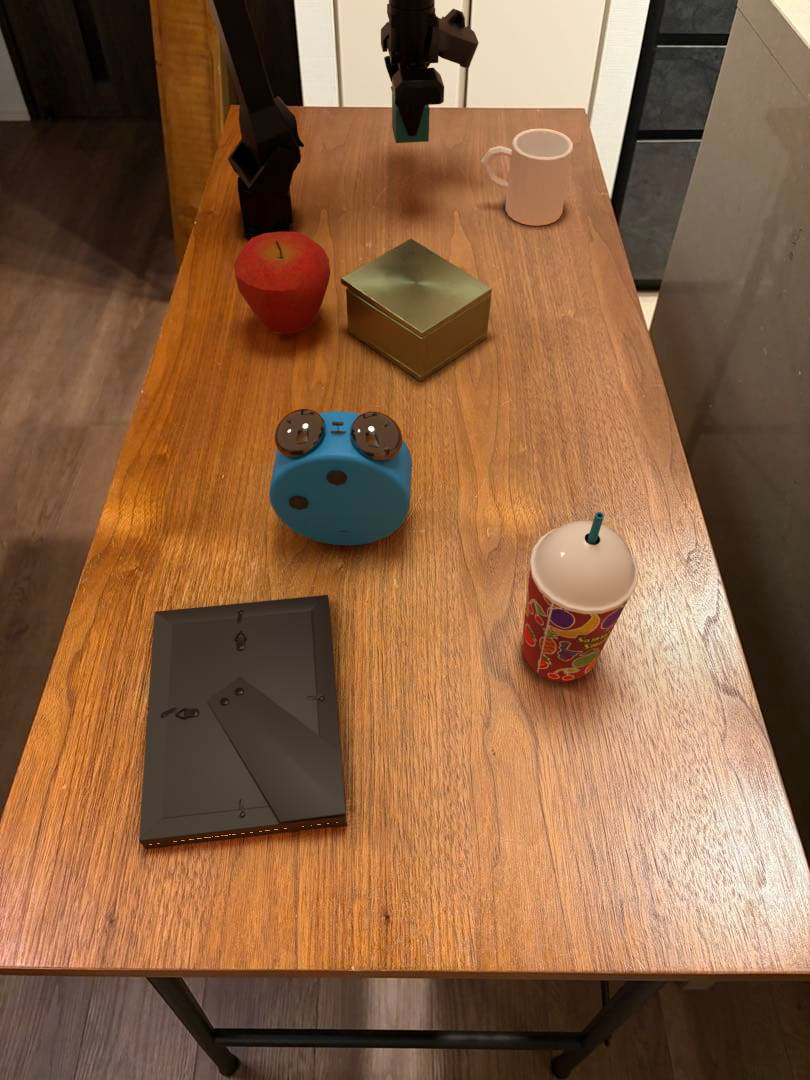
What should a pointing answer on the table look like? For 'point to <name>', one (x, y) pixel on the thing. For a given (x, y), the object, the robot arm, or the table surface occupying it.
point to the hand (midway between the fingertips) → (410, 127)
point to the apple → (283, 279)
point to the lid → (416, 287)
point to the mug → (534, 175)
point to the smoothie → (575, 597)
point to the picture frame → (242, 723)
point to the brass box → (409, 347)
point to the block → (400, 129)
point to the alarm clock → (341, 476)
